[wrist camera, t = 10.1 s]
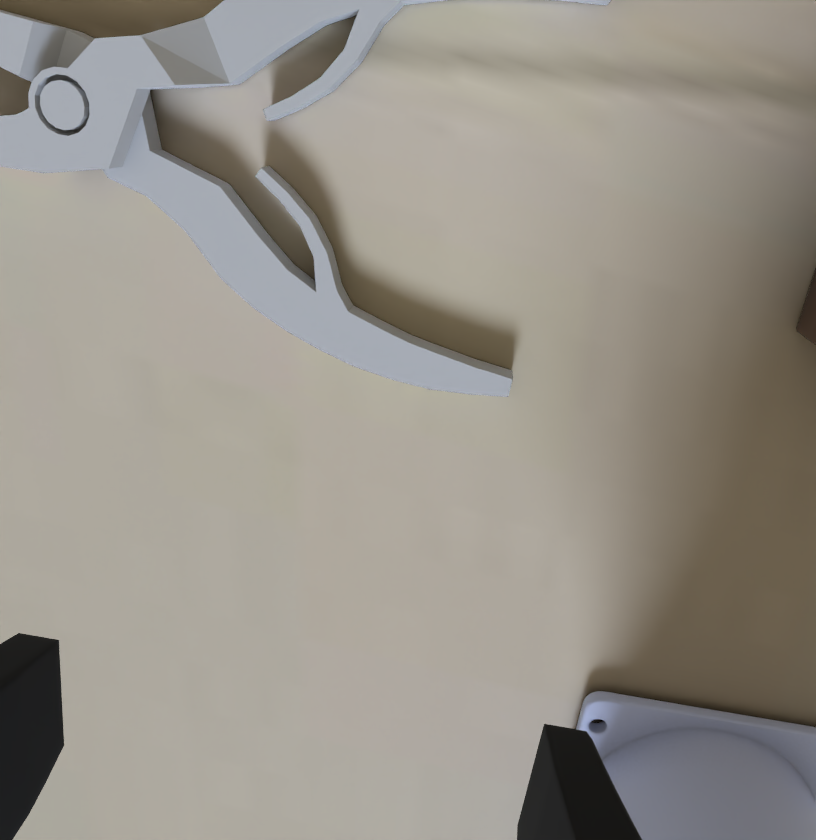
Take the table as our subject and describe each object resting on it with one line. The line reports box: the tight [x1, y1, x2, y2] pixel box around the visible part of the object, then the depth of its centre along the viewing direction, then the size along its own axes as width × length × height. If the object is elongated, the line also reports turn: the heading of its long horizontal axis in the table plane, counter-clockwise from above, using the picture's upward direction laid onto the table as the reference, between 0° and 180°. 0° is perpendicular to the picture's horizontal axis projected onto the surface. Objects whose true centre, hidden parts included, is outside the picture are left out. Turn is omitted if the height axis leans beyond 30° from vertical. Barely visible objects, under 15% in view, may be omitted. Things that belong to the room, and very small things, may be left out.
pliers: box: [0, 0, 611, 397], centre depth 18 cm, size 10×2×15 cm
